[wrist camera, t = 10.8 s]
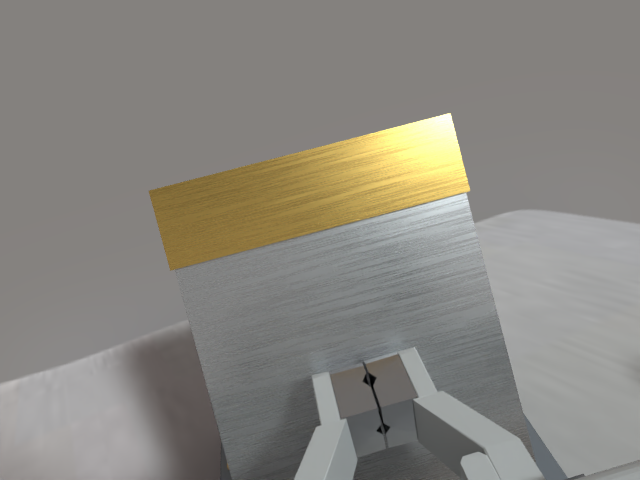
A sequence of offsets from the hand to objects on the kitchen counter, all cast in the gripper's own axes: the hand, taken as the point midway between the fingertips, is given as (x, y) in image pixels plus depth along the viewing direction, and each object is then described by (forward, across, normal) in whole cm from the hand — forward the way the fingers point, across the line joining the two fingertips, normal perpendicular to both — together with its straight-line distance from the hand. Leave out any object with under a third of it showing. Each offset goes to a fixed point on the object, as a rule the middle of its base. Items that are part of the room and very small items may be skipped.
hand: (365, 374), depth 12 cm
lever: (-3, 0, +8) cm, 8 cm away
